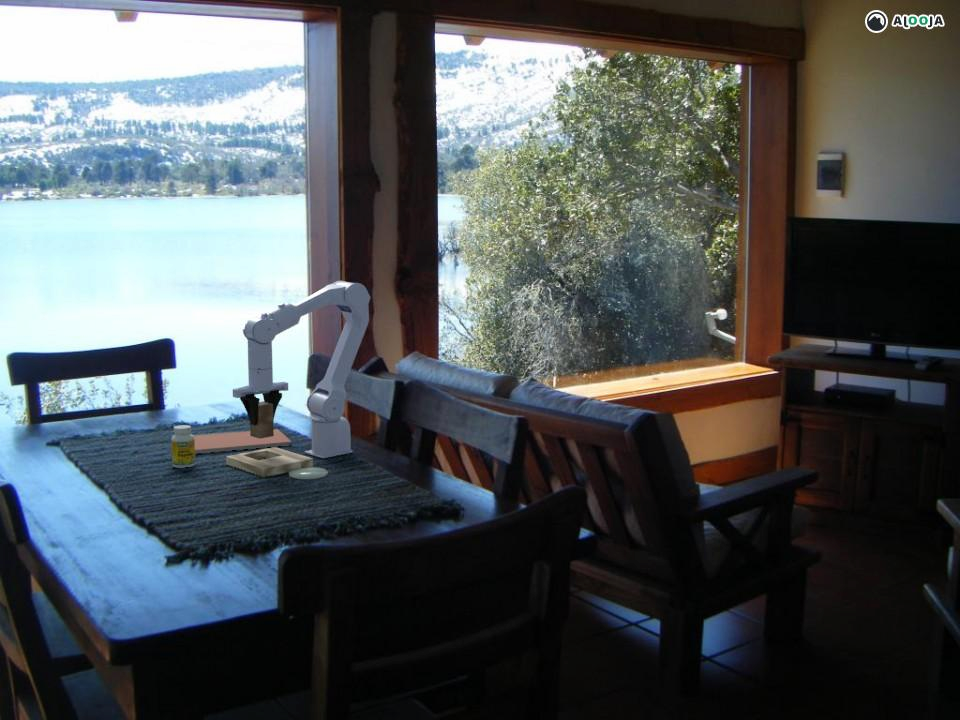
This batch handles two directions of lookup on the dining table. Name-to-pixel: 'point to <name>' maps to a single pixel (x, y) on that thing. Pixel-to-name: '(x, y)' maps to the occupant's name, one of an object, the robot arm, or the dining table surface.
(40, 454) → the dining table surface
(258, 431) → the walnut block
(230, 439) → the notebook
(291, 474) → the coaster
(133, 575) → the dining table surface
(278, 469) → the board
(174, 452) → the supplement bottle
